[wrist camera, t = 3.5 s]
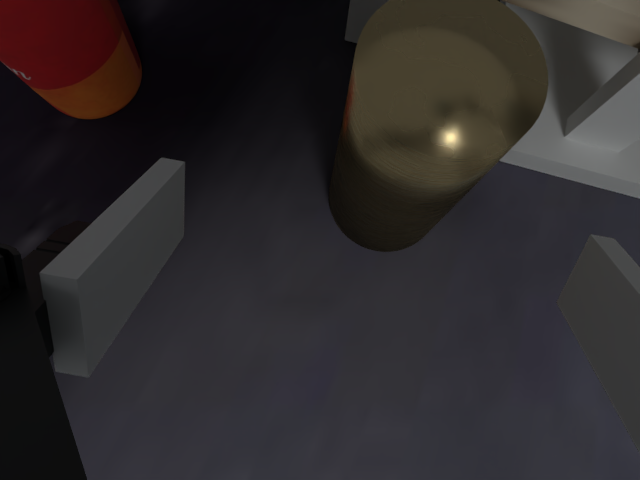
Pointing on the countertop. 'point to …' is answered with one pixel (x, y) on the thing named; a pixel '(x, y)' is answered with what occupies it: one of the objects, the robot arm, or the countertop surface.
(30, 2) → the paper cup
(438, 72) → the olive round cylinder
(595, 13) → the beam
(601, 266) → the robot arm
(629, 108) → the seesaw stand
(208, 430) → the countertop surface
